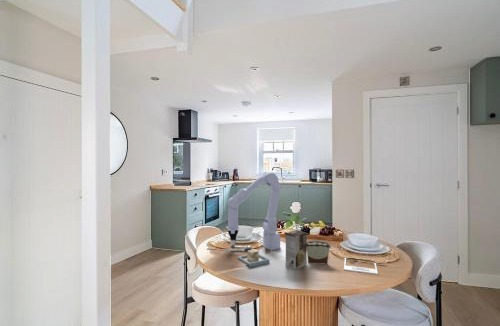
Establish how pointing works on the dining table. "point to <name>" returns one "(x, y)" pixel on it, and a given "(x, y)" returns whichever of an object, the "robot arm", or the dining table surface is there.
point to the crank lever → (239, 246)
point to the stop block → (253, 255)
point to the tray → (254, 264)
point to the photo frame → (360, 269)
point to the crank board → (237, 251)
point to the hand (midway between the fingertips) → (233, 243)
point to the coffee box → (296, 249)
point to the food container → (318, 252)
